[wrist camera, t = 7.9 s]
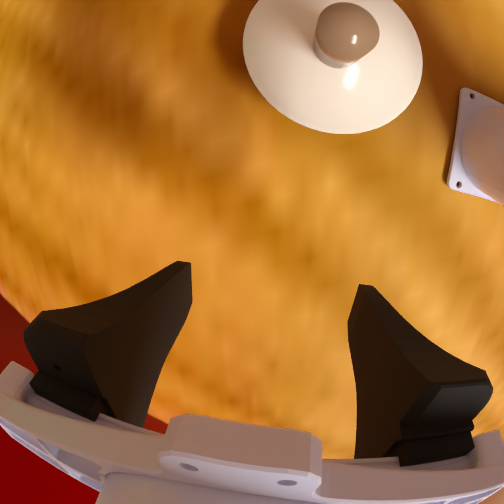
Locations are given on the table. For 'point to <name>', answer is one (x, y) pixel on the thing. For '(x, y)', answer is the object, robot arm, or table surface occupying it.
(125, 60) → the table surface
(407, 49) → the lid
